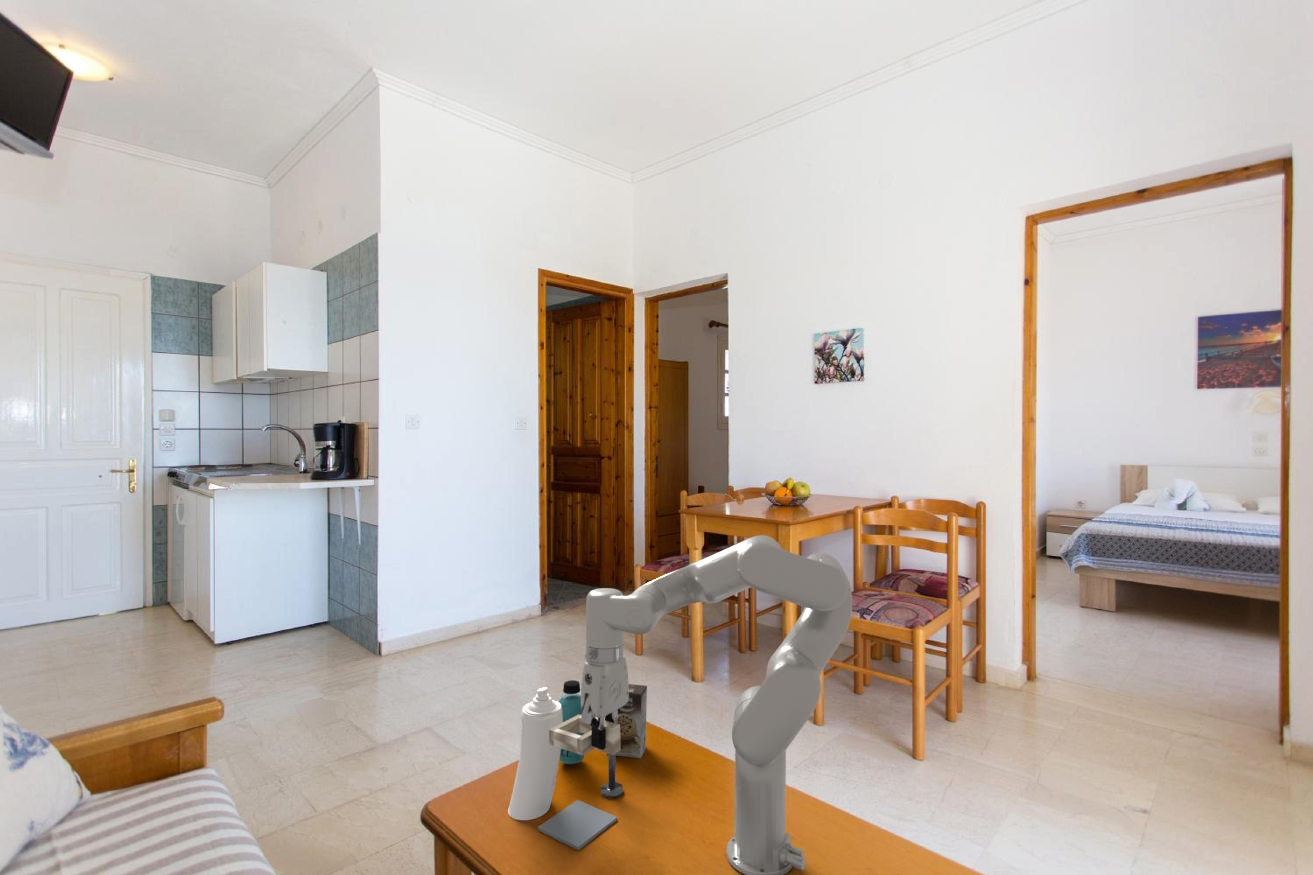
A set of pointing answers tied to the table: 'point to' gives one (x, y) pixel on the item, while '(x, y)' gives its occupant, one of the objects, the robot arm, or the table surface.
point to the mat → (577, 824)
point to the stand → (612, 781)
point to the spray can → (536, 758)
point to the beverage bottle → (571, 716)
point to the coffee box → (633, 723)
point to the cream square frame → (583, 736)
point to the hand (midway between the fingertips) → (603, 743)
